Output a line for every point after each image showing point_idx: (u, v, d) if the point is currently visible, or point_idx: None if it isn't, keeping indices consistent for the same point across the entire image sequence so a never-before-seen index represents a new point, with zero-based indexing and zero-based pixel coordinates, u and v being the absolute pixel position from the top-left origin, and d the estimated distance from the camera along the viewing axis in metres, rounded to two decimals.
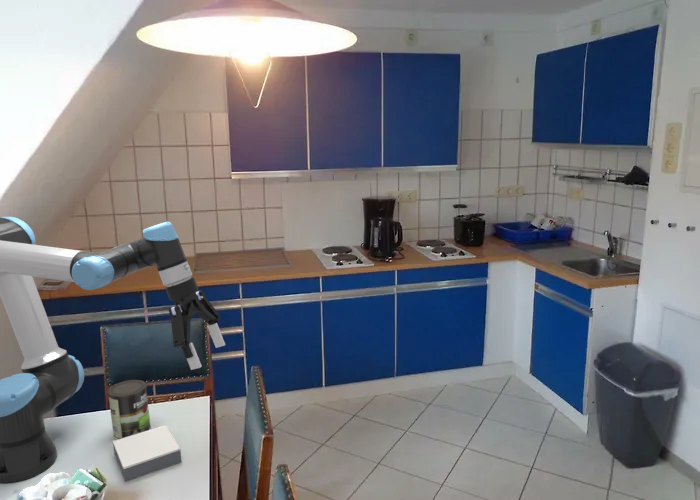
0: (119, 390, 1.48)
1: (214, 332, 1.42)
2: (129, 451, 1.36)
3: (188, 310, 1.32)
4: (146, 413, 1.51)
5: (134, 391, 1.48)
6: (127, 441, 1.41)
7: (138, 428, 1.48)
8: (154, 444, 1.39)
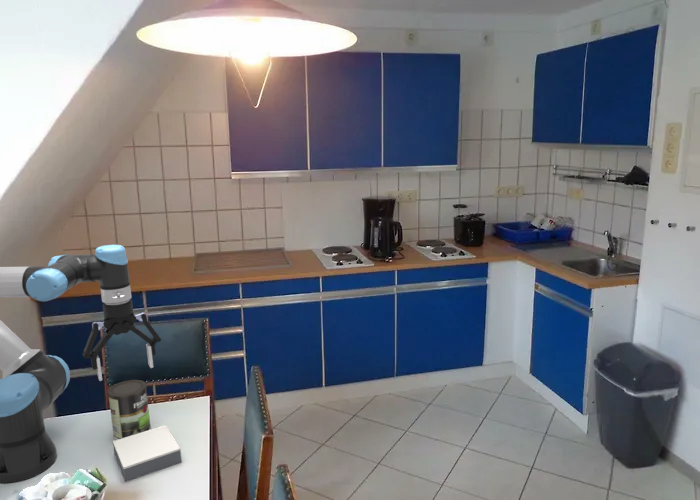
0: (119, 390, 1.48)
1: (148, 352, 1.51)
2: (129, 451, 1.36)
3: (110, 329, 1.43)
4: (146, 413, 1.51)
5: (134, 391, 1.48)
6: (127, 441, 1.41)
7: (138, 428, 1.48)
8: (154, 444, 1.39)
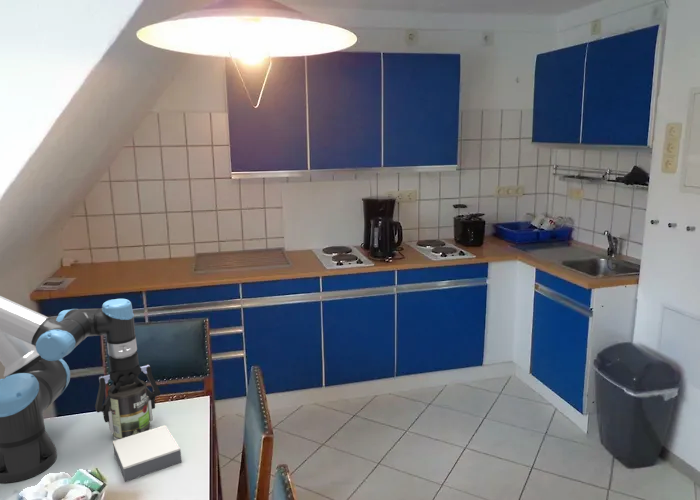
0: (119, 390, 1.48)
1: None
2: (129, 451, 1.36)
3: (116, 382, 1.47)
4: (146, 413, 1.51)
5: (134, 391, 1.48)
6: (127, 441, 1.41)
7: (138, 428, 1.48)
8: (154, 444, 1.39)
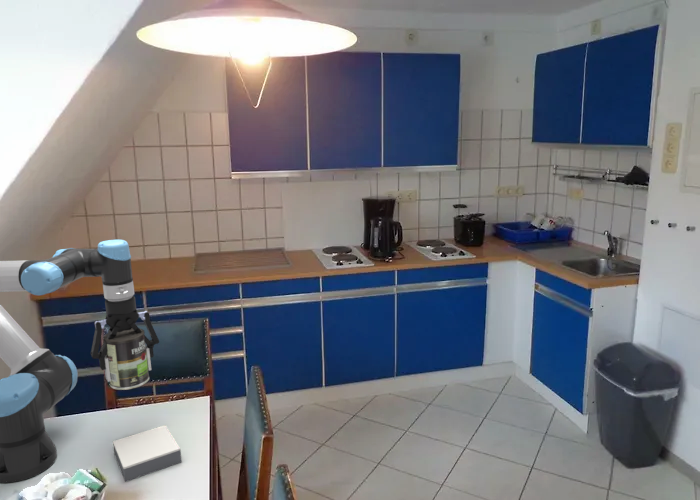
0: (116, 336, 1.41)
1: None
2: (129, 451, 1.36)
3: (113, 327, 1.40)
4: (144, 361, 1.44)
5: (132, 337, 1.41)
6: (127, 441, 1.41)
7: (136, 376, 1.42)
8: (154, 444, 1.39)
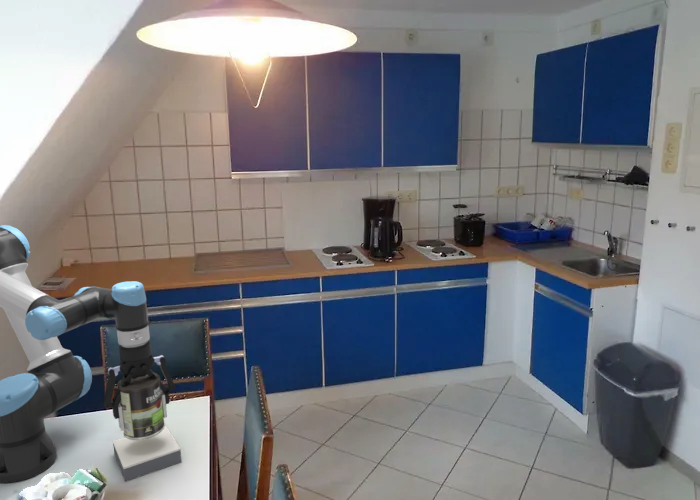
0: (130, 383, 1.34)
1: None
2: (129, 451, 1.36)
3: (127, 374, 1.32)
4: (160, 408, 1.36)
5: (147, 384, 1.33)
6: (127, 441, 1.41)
7: (151, 426, 1.34)
8: (154, 444, 1.39)
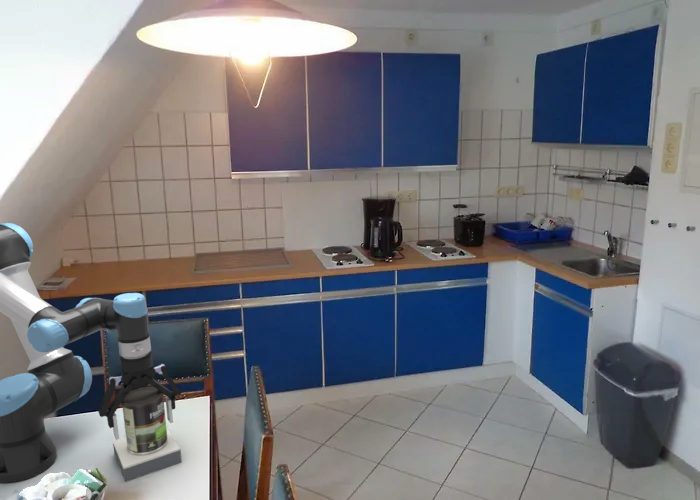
0: (134, 398, 1.35)
1: (167, 406, 1.41)
2: None
3: (128, 385, 1.32)
4: (163, 424, 1.38)
5: (150, 400, 1.34)
6: None
7: (154, 441, 1.35)
8: None
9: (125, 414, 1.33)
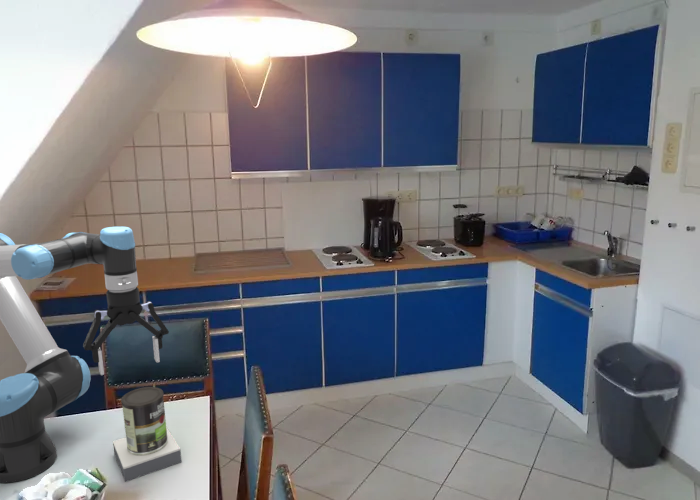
0: (134, 398, 1.35)
1: (154, 345, 1.39)
2: None
3: (114, 319, 1.31)
4: (163, 424, 1.38)
5: (150, 400, 1.34)
6: None
7: (154, 441, 1.35)
8: None
9: (125, 414, 1.33)
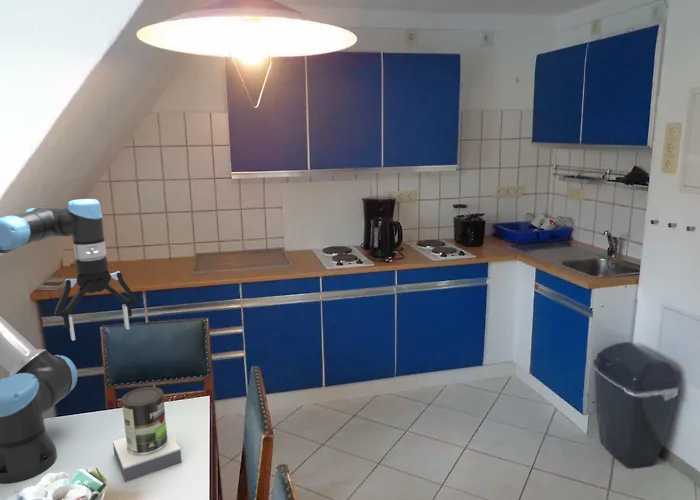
0: (134, 398, 1.35)
1: (124, 313, 1.46)
2: None
3: (83, 287, 1.38)
4: (163, 424, 1.38)
5: (150, 400, 1.34)
6: None
7: (154, 441, 1.35)
8: None
9: (125, 414, 1.33)
